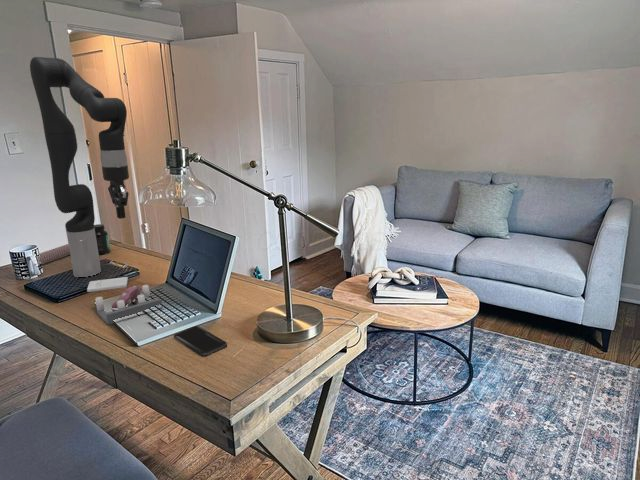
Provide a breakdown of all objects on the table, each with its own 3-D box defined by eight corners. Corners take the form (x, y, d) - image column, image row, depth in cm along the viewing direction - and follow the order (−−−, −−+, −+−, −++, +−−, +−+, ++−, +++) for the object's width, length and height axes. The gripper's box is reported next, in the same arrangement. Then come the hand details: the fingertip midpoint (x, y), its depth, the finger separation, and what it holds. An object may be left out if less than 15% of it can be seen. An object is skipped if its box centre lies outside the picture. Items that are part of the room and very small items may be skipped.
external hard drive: (127, 288, 158) (87, 293, 154) (128, 280, 165) (90, 284, 162) (126, 284, 158) (86, 289, 154) (127, 276, 165) (89, 280, 161)
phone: (202, 355, 113) (171, 335, 123) (202, 359, 114) (172, 338, 124) (228, 343, 119) (197, 324, 129) (229, 347, 119) (197, 328, 129)
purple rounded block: (122, 316, 140) (129, 298, 137) (109, 309, 140) (116, 291, 137) (139, 303, 149) (146, 285, 147) (126, 296, 149) (133, 279, 147)
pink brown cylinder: (38, 257, 177) (76, 244, 193) (29, 254, 178) (67, 242, 194) (39, 268, 178) (77, 254, 195) (30, 265, 180) (68, 252, 196)
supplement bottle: (113, 251, 196) (110, 224, 192) (99, 256, 190) (95, 228, 187) (103, 249, 199) (99, 222, 196) (89, 253, 194) (85, 226, 190)
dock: (96, 313, 138) (94, 297, 137) (148, 298, 148) (147, 284, 147) (108, 324, 131) (105, 308, 129) (162, 308, 141) (160, 293, 139)
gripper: (95, 163, 146) (103, 216, 151) (108, 167, 136) (115, 224, 141) (120, 161, 150) (126, 212, 155) (134, 165, 141) (140, 220, 146)
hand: (121, 217), depth 148 cm, fingers closed
